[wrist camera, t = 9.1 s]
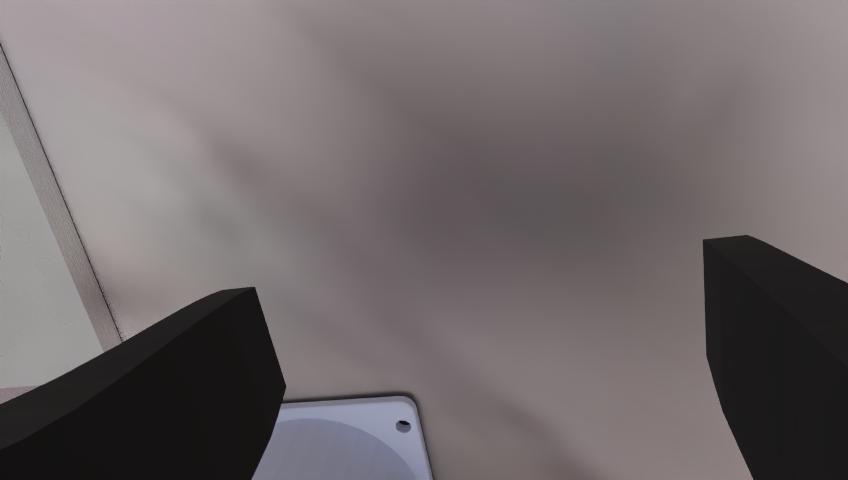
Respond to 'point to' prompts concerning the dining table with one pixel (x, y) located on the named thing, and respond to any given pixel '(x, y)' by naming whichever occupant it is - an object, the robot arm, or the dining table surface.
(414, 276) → the dining table surface
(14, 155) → the chassis
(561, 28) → the dining table surface
